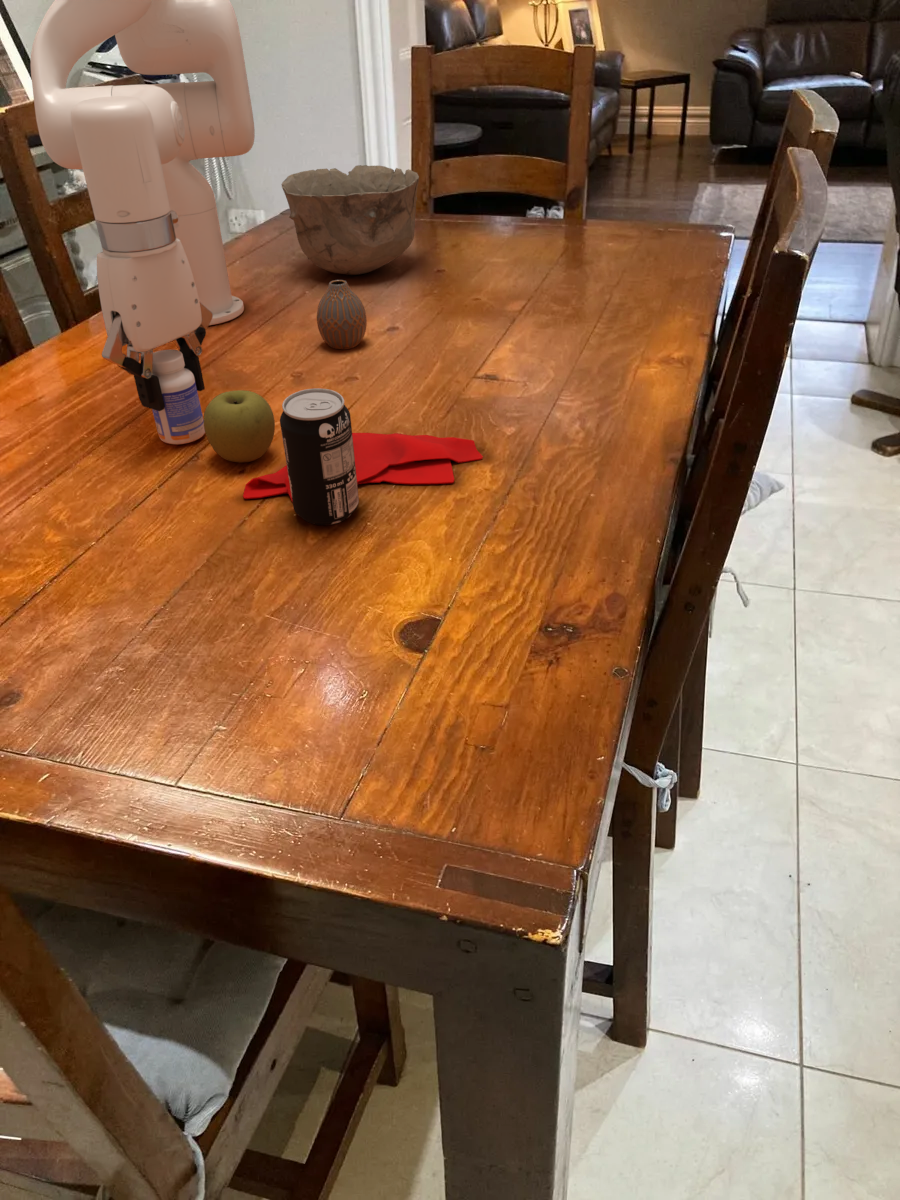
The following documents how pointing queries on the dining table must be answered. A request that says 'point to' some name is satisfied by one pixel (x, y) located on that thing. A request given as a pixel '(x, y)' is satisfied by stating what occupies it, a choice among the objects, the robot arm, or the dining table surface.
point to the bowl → (353, 216)
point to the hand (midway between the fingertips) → (173, 396)
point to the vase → (341, 316)
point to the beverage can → (319, 455)
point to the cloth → (387, 462)
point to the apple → (239, 425)
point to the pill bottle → (177, 400)
